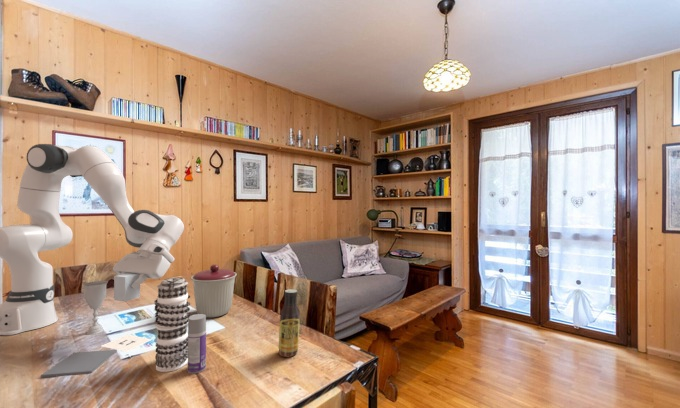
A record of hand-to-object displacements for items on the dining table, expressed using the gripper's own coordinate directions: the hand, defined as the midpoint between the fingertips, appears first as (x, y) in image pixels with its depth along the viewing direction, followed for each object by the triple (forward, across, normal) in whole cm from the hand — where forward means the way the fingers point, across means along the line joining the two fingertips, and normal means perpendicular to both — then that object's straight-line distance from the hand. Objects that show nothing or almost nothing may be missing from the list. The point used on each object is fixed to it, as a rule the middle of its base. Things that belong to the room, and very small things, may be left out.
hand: (125, 286), depth 98 cm
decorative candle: (+17, +25, +11) cm, 32 cm away
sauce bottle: (+5, +55, +22) cm, 60 cm away
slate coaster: (+23, 0, +5) cm, 23 cm away
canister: (-9, +9, +36) cm, 39 cm away
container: (+17, +34, +11) cm, 40 cm away
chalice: (+12, -19, +16) cm, 28 cm away
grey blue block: (+2, 0, +3) cm, 4 cm away
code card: (+13, 0, +14) cm, 19 cm away
